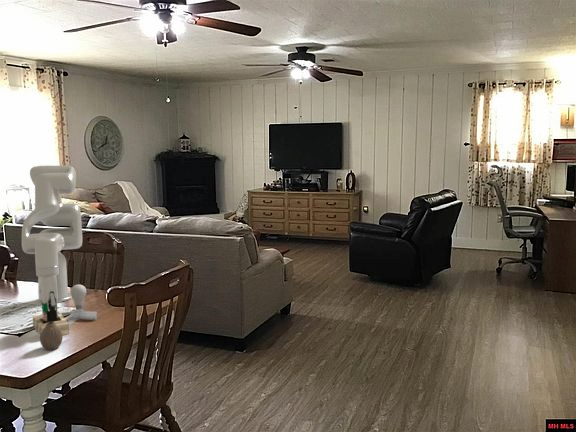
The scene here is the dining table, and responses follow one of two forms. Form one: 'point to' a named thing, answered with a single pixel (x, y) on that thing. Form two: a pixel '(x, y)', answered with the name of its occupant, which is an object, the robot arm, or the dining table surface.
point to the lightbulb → (78, 295)
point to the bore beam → (60, 323)
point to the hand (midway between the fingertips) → (50, 318)
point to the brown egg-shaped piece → (51, 336)
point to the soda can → (44, 312)
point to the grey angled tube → (81, 315)
